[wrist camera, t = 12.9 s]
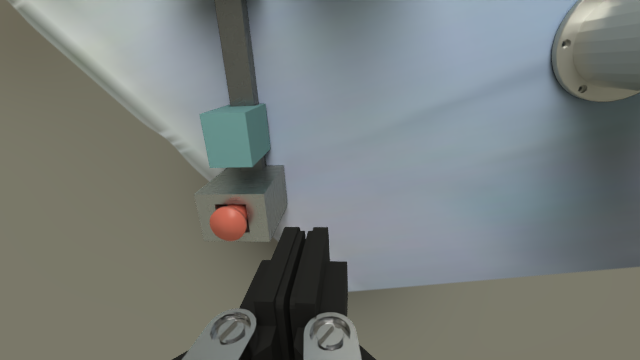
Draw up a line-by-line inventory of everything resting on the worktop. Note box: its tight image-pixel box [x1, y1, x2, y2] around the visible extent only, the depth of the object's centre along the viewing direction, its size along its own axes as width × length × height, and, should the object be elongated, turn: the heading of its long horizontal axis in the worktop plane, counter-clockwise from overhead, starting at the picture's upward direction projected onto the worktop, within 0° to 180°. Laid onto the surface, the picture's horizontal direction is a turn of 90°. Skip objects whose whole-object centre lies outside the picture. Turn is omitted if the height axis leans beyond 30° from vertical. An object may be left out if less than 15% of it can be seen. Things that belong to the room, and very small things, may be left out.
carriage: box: [200, 104, 270, 168], centre depth 36 cm, size 5×6×8 cm
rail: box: [214, 0, 266, 171], centre depth 37 cm, size 3×22×2 cm, turn 3°
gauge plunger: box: [210, 204, 248, 241], centre depth 34 cm, size 4×4×5 cm
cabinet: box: [194, 165, 287, 242], centre depth 38 cm, size 8×6×10 cm
